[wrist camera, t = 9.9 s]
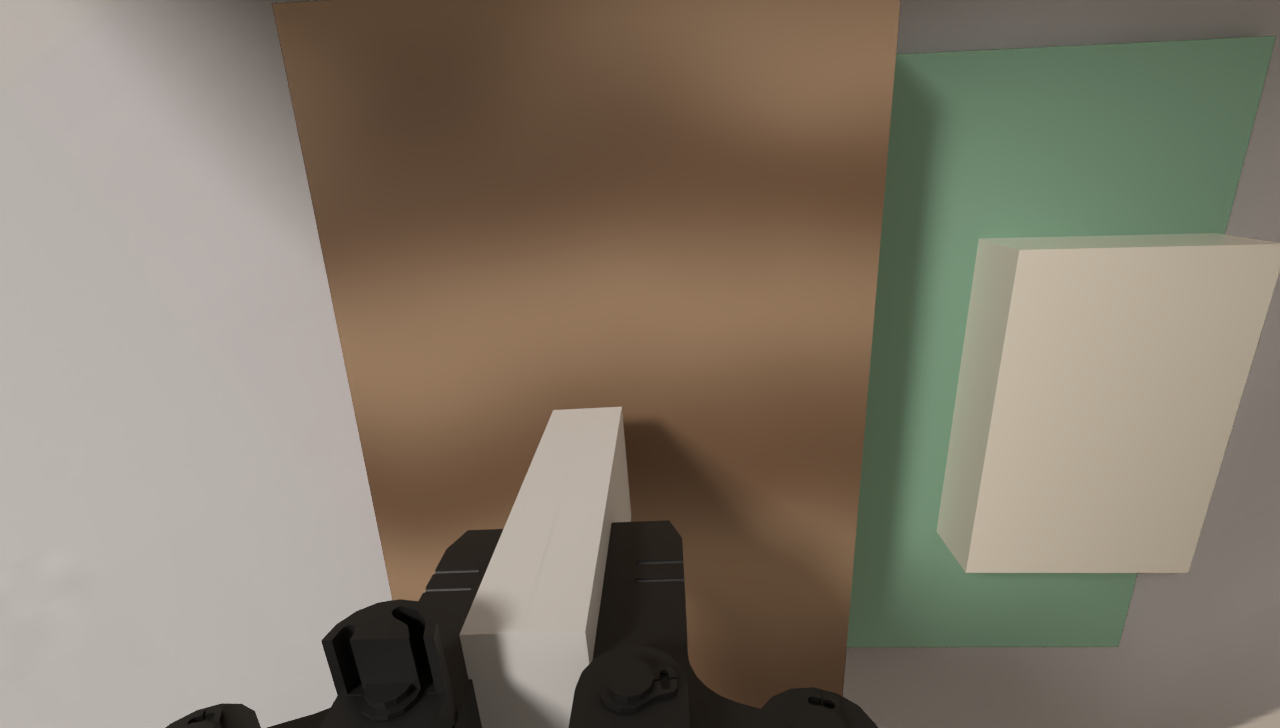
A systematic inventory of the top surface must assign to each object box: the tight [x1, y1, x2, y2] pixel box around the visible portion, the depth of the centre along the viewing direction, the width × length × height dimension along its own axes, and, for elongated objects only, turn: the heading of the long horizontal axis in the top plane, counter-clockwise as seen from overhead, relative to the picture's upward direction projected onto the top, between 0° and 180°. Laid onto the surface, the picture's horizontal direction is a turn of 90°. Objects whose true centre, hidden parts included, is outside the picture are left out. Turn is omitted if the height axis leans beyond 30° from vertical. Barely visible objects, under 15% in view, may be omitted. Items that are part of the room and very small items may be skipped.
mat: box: [847, 36, 1276, 647], centre depth 18 cm, size 18×10×1 cm, turn 2°
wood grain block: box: [272, 0, 901, 709], centre depth 17 cm, size 20×12×4 cm, turn 2°
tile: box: [936, 233, 1280, 573], centre depth 17 cm, size 9×6×2 cm, turn 2°
